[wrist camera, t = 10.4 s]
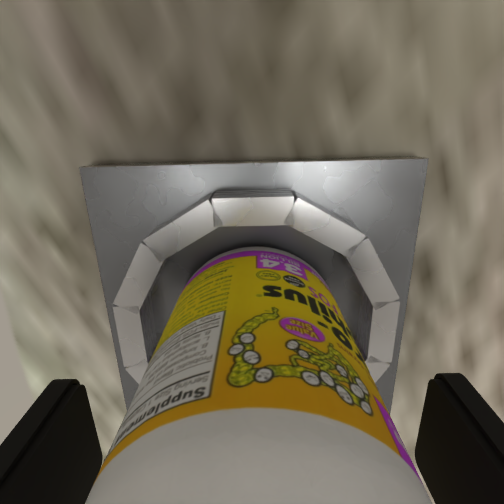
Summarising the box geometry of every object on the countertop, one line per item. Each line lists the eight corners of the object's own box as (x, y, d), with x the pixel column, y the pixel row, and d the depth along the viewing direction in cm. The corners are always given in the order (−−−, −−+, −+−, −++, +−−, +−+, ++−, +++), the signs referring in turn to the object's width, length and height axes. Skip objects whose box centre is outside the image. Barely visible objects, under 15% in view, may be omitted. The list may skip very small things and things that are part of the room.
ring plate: (91, 164, 14) (57, 172, 11) (416, 156, 13) (450, 162, 11) (137, 414, 18) (119, 456, 16) (381, 410, 18) (400, 453, 15)
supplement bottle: (361, 323, 15) (839, 1167, 3) (245, 397, 16) (223, 1168, 4) (268, 206, 13) (465, 1138, 1) (147, 301, 14) (-379, 1154, 2)
